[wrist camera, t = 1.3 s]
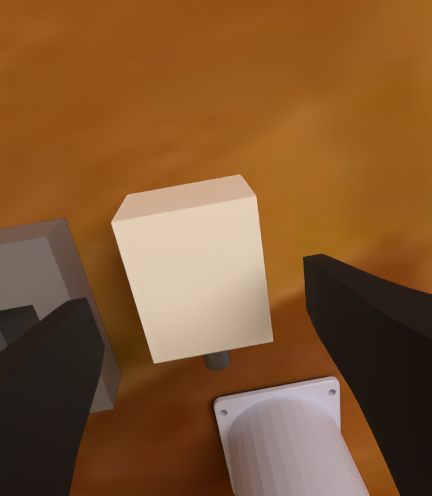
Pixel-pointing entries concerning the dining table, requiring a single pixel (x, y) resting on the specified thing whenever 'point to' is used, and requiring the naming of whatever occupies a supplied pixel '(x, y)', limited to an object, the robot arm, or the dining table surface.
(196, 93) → the dining table surface
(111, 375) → the socket plate
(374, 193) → the dining table surface
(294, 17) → the dining table surface
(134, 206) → the plug
